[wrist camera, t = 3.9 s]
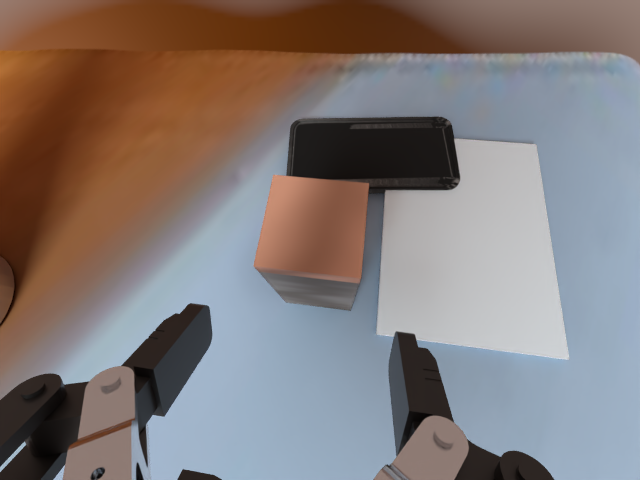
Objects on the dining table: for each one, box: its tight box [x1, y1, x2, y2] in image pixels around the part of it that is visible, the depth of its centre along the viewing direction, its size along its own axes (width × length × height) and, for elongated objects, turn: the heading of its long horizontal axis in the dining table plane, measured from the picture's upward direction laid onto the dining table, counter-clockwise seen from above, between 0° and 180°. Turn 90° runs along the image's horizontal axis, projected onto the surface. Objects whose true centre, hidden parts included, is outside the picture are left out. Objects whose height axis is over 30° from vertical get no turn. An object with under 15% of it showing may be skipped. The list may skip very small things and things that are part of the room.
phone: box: [286, 117, 460, 194], centre depth 28 cm, size 8×1×15 cm
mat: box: [376, 138, 569, 359], centre depth 24 cm, size 13×18×1 cm
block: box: [254, 175, 369, 311], centre depth 19 cm, size 5×5×10 cm
